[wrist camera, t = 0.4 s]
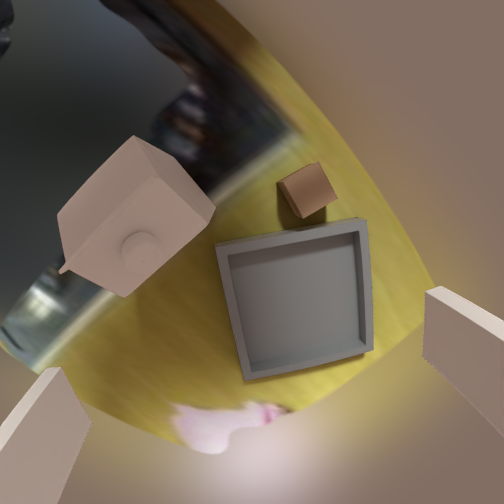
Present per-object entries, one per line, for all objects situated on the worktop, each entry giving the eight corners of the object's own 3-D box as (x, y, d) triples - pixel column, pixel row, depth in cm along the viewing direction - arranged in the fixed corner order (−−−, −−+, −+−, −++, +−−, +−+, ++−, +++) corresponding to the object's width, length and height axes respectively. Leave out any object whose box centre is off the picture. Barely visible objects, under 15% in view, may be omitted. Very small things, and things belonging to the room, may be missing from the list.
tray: (215, 243, 33) (215, 247, 31) (357, 217, 34) (366, 219, 31) (243, 369, 37) (244, 380, 34) (365, 341, 37) (373, 350, 35)
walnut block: (276, 182, 33) (283, 181, 29) (308, 164, 32) (318, 161, 29) (294, 214, 33) (303, 218, 30) (325, 196, 33) (337, 198, 29)
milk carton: (125, 201, 32) (21, 222, 13) (174, 156, 31) (109, 121, 13) (167, 250, 33) (103, 325, 14) (217, 207, 33) (204, 235, 14)
